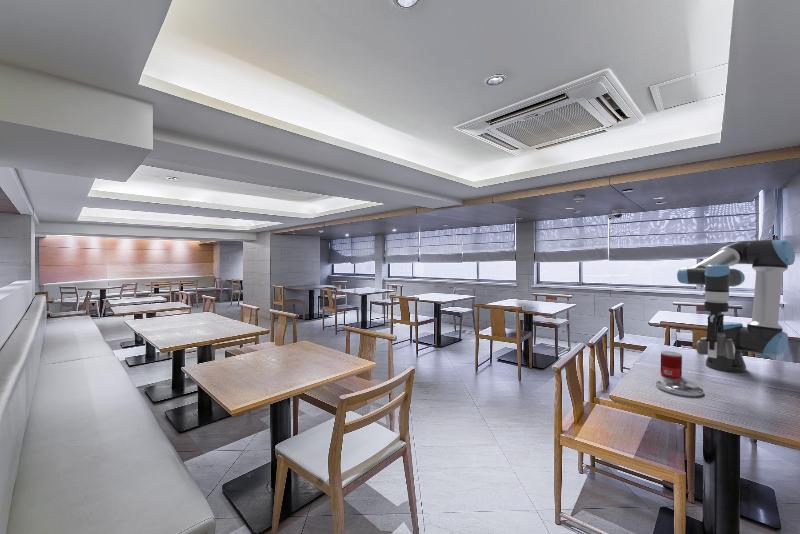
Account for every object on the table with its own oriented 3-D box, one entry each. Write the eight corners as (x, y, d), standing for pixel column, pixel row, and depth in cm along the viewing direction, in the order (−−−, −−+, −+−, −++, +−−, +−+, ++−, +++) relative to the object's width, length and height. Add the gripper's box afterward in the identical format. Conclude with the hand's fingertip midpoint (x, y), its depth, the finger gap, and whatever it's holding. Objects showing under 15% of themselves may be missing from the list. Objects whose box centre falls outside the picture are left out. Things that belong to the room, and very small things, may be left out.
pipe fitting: (736, 355, 145) (733, 331, 145) (736, 361, 140) (732, 336, 140) (698, 353, 154) (695, 330, 154) (697, 359, 148) (693, 335, 148)
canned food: (685, 379, 162) (685, 356, 162) (665, 378, 164) (666, 355, 164) (675, 373, 170) (676, 351, 169) (657, 372, 171) (657, 350, 171)
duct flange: (663, 380, 162) (663, 376, 162) (708, 390, 149) (708, 387, 149) (649, 388, 152) (649, 384, 152) (696, 400, 139) (696, 396, 139)
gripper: (711, 298, 155) (709, 349, 156) (697, 302, 143) (696, 357, 144) (734, 300, 149) (732, 353, 150) (722, 304, 137) (720, 362, 138)
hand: (714, 355), depth 147 cm, fingers closed on pipe fitting, 8 cm apart
